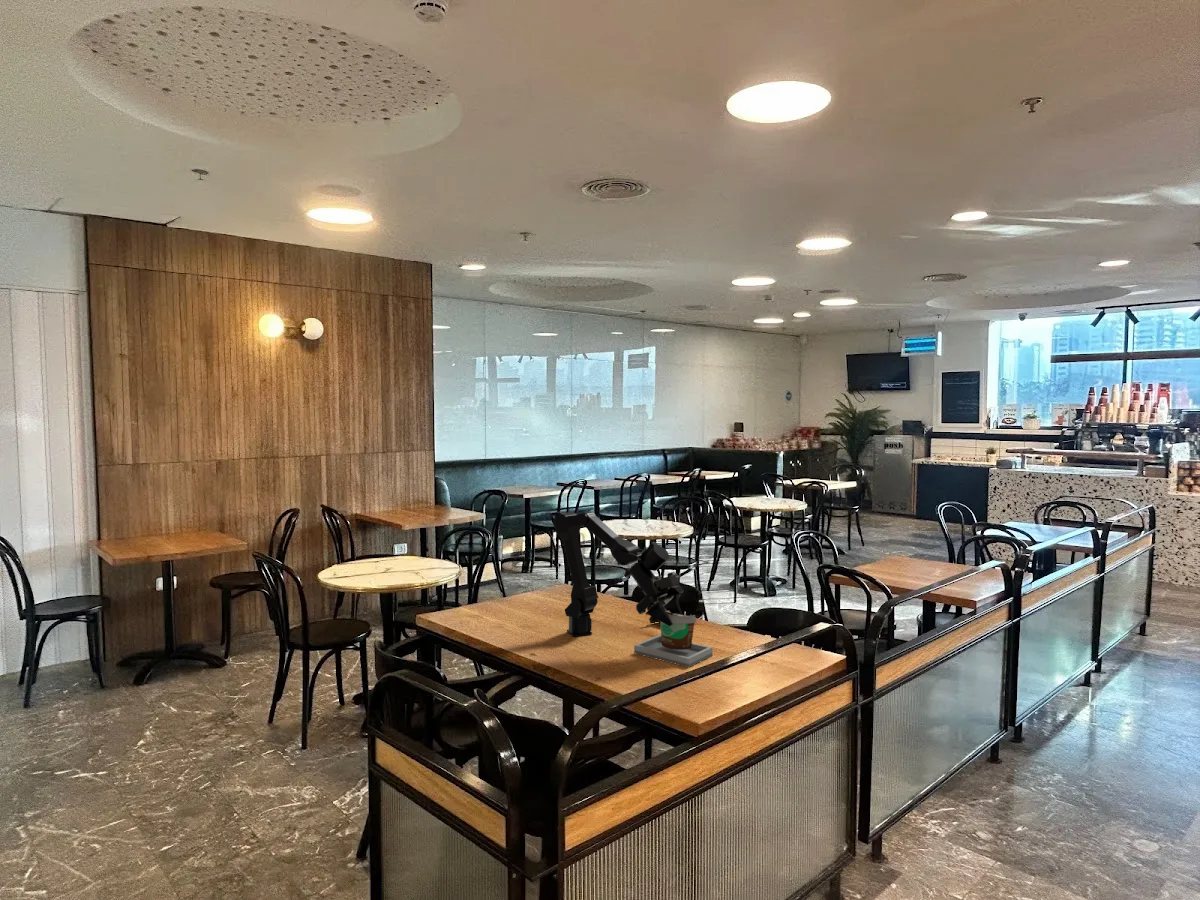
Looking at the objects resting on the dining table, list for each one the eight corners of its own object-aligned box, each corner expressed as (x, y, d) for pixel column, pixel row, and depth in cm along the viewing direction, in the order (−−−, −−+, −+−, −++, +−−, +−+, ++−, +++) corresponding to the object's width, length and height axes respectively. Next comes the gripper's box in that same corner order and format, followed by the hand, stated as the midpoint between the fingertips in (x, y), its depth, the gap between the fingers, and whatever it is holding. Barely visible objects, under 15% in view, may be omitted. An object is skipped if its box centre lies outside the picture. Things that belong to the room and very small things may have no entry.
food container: (649, 644, 218) (650, 611, 218) (660, 640, 223) (661, 608, 223) (684, 653, 210) (685, 618, 210) (695, 649, 215) (696, 615, 215)
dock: (688, 667, 206) (688, 658, 206) (634, 653, 218) (634, 645, 218) (712, 655, 216) (712, 647, 216) (658, 642, 228) (659, 634, 228)
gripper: (645, 569, 210) (677, 614, 204) (678, 559, 225) (709, 600, 219) (622, 591, 215) (653, 636, 210) (656, 580, 230) (686, 621, 224)
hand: (676, 622), depth 216 cm, fingers open, 6 cm apart
